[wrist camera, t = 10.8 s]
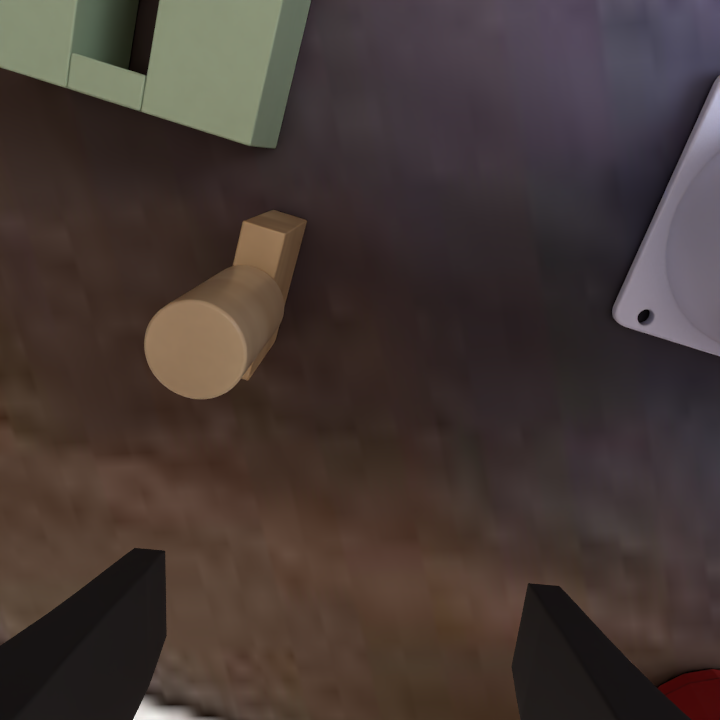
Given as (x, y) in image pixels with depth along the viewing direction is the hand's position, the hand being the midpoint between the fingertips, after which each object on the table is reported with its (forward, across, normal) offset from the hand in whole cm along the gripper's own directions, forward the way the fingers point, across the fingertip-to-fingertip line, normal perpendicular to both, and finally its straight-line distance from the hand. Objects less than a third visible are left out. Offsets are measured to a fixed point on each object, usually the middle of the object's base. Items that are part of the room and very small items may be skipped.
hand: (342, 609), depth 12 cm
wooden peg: (+10, +3, -4) cm, 12 cm away
